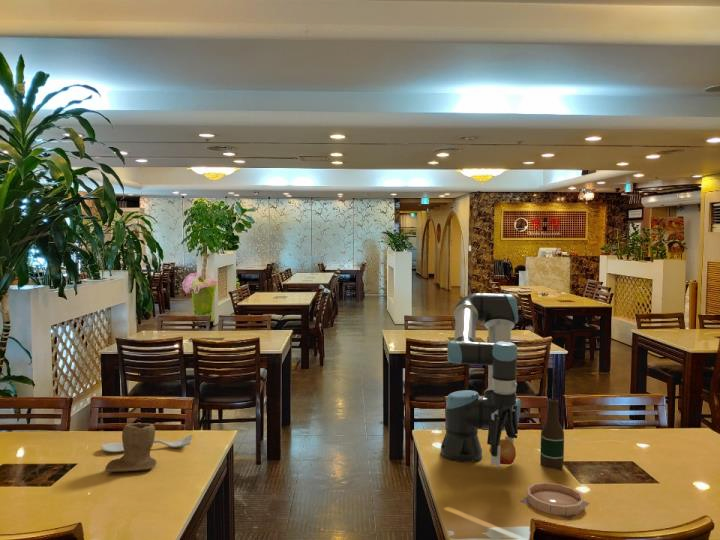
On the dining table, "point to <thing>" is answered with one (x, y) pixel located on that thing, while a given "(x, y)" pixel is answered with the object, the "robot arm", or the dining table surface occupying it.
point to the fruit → (506, 452)
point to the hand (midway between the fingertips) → (502, 461)
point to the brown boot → (135, 449)
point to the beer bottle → (552, 439)
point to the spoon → (178, 443)
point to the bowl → (555, 499)
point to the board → (558, 515)
